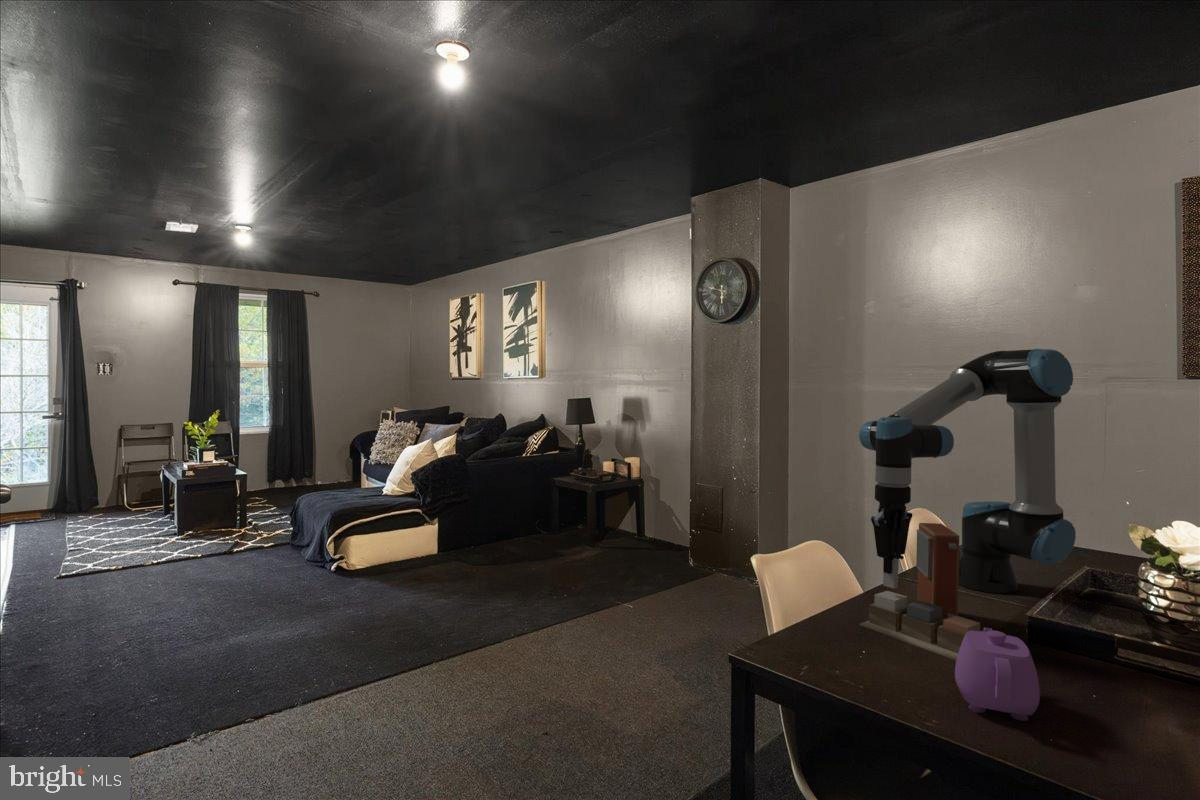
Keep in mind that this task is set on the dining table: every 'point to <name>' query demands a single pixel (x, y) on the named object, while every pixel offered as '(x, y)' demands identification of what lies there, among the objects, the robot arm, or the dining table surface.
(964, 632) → the terracotta key
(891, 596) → the ivory key
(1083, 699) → the dining table surface
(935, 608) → the graphite key
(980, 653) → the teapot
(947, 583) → the terracotta and grey box
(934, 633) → the keypad board
